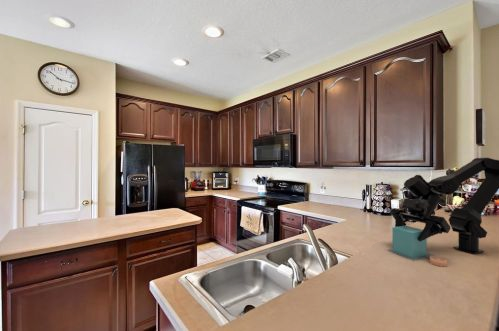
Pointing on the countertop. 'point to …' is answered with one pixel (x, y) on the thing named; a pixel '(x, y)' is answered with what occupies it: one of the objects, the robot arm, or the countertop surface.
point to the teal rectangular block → (408, 242)
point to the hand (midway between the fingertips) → (406, 237)
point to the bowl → (438, 261)
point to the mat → (413, 258)
